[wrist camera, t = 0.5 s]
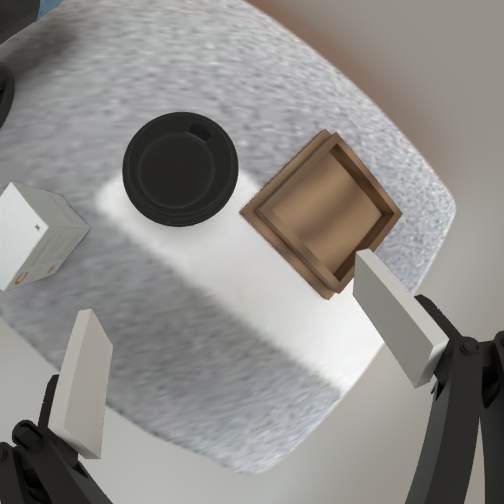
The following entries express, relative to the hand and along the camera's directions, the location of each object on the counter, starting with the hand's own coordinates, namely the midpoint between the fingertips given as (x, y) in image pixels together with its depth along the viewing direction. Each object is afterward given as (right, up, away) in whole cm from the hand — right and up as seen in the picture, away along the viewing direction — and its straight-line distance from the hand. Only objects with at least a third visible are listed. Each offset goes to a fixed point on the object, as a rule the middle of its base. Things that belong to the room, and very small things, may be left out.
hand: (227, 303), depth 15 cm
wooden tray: (+11, +8, +26) cm, 29 cm away
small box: (-23, +5, +19) cm, 30 cm away
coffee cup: (-7, +10, +22) cm, 25 cm away
